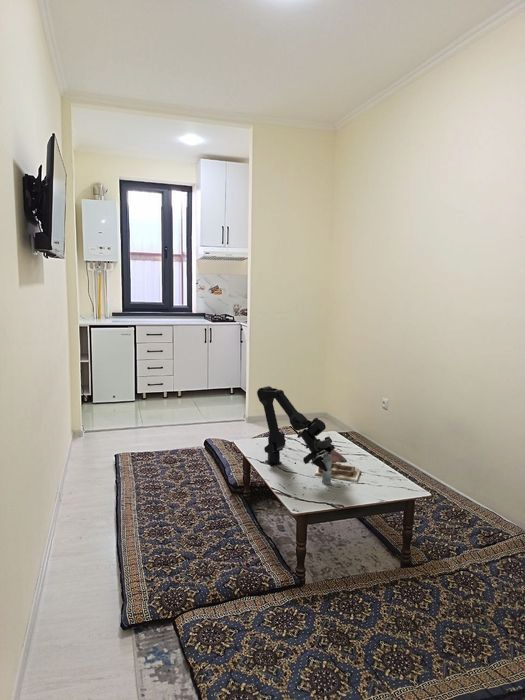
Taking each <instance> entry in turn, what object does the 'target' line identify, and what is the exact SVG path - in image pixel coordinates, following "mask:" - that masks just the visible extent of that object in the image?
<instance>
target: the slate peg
mask: <svg viewBox="0 0 525 700" xmlns="http://www.w3.org/2000/svg"><path fill="white" fill-rule="evenodd" d="M322 461H323V463H324V464H325V466H326V468H327V470H328V471H327V472H325V471H324V470H323V472H322V476H321V483H322V484H323V483H324V485H330V484H331V482H332V481H331V480H332V478H331V467H332V455H329V454H324V455H323V460H322Z"/></svg>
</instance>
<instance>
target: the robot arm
mask: <svg viewBox="0 0 525 700" xmlns="http://www.w3.org/2000/svg"><path fill="white" fill-rule="evenodd" d="M256 396H257V398H258V400H259V402H260V403H261V405H262V407H263V410H264V415H265V419H266V422H267V429H268V433H269V434H268V438H267V442H268V444H267V445H266V446H264V448H263V449H264V453H267V460H264V462H265V463H266V464H268V465H270V466H273V467H274V466H276V465H281V464H283V461H281V460H280V459H281V456H280V455H281V453H280V451H283V450H284V447H285V446H286V442H287V441H286V437H285V434H284V433H282V432H281V431H280V429H279V424H278V421H277V415H276V411H275V407H274V406H275V405H274V399H275V400H276V402H277V403H278V404H279V406H280V407H281V408H282V410H283V411H284V413H285V414H286V416H287V417H288V419H289V424H290V425H291V428H292V429H293V430H294V431H296V432H297V439H299V438H302V440H303V441H304V443H305V445H306V446H305V449H308V450H309V451H310V453H308V454H307V455H306V456H304V457H303V459H302V461H303V464H305V465H307V464H309V463H310V464H312V465H315V466H316V467H317V468H318V467H319V468H321V469H322V470H324V471H325V472H327V471H328V470H327V468H326V466H325V464H324V463H323V455H324V454H329V455H330V454H331V452H332V451H333V450H335V449H336V446H335V445H334V444H332V443H333V440H332V438H331V437H330V436H326V437H324V439H323V440H322V439H320V438H317V437H318V436H319V435H320V434H321V433H322V432H324V431H325V430H326V428H327V426H326V424H325V422H324V421H323V420H321V419H319V418H318V417H315V418H313V419H312V420H310V419H307V417H306V416H305V415H304V414H303V413H301V412H299V411H298V410H297V409H296V408H295V406H294V405H293V404H292V402H291V401H290V400H289V398H288V397H287V396H286V395H285V391H284V390H283V389H278V388H277V387H276V388H275V387H272V386H268V385H267V386H263V387H260V388H258V389H257V391H256ZM332 468H333V466H332V467H331V469H332Z"/></svg>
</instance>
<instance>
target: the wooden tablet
mask: <svg viewBox="0 0 525 700" xmlns="http://www.w3.org/2000/svg"><path fill="white" fill-rule="evenodd" d="M330 455H332V463H336V462H337V463H347V462H348V460H347V458H345V457H344V456H343V455H342V454H341V453H339V452H338V451H336V450H335V449H334V450H333V451H332V452H331V454H330Z"/></svg>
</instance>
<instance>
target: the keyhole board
mask: <svg viewBox="0 0 525 700" xmlns="http://www.w3.org/2000/svg"><path fill="white" fill-rule="evenodd" d="M332 466H333V468H332V469H331V479H338V480H344V481H351V482H354V483H355V482H356V483H357V482H358V479H359V476H360V474H361V469H362V468H361V469H360V468H356V466H352V465H346V464H342V463H340V462H337V463H332ZM322 472H323V470H322V469H321V468H319V467H318V466H317V468H316V470H315V472H314V475H315V476H318V475H320V477H322Z"/></svg>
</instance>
